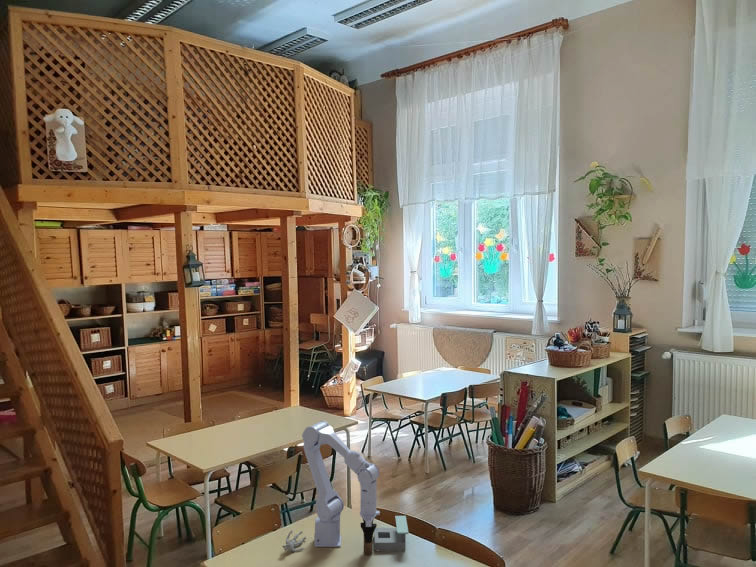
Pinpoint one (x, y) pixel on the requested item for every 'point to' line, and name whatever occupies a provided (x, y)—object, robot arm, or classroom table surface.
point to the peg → (368, 547)
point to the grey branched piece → (293, 542)
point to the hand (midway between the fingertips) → (368, 537)
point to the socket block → (392, 536)
